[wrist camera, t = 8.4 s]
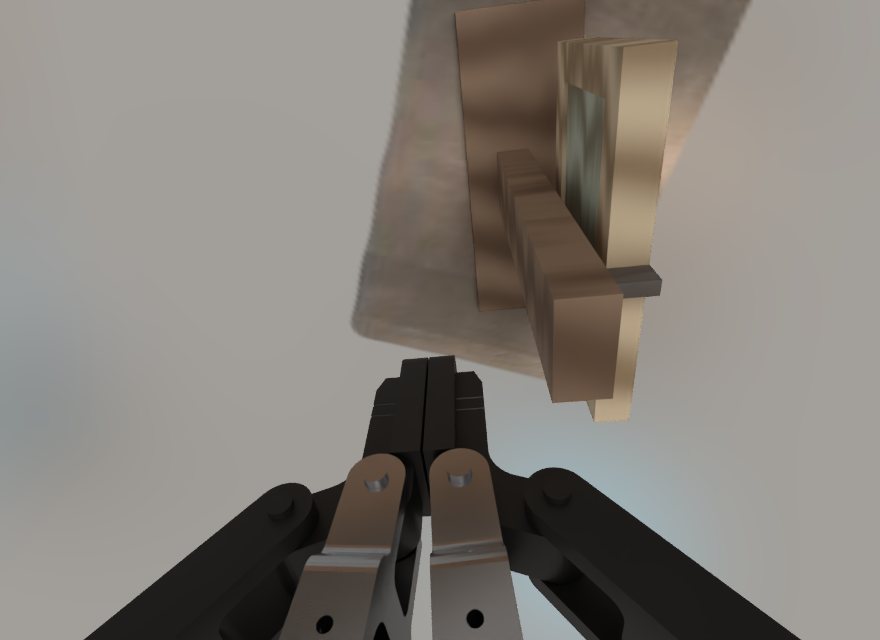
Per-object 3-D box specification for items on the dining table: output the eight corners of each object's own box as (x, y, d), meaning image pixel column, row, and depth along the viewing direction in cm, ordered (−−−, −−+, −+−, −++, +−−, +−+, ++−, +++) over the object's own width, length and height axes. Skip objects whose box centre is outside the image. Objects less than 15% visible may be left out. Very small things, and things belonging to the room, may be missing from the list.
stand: (455, 12, 42) (461, -26, 15) (581, -5, 41) (833, -79, 14) (478, 305, 57) (503, 547, 30) (570, 297, 56) (679, 538, 29)
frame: (557, 41, 36) (638, 48, 20) (591, 37, 35) (697, 41, 20) (553, 311, 48) (601, 442, 33) (578, 309, 48) (638, 440, 33)
